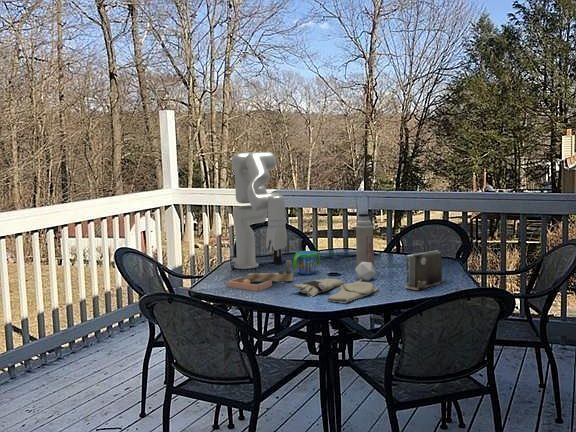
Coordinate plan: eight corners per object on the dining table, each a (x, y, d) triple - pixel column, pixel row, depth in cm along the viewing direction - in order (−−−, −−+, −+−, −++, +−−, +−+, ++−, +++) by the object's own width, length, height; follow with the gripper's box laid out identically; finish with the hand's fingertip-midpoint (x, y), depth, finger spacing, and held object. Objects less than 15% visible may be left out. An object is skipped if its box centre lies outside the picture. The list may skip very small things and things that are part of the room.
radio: (434, 279, 252) (434, 245, 250) (451, 282, 245) (451, 247, 243) (400, 288, 237) (399, 253, 236) (416, 292, 231) (416, 255, 229)
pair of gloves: (288, 294, 236) (288, 282, 235) (329, 282, 254) (328, 271, 253) (345, 306, 215) (345, 292, 214) (385, 292, 233) (384, 280, 232)
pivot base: (272, 282, 256) (272, 281, 256) (279, 279, 261) (279, 279, 261) (283, 283, 253) (283, 283, 253) (290, 281, 258) (290, 280, 258)
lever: (248, 281, 257) (247, 261, 256) (249, 279, 260) (248, 260, 259) (292, 280, 255) (291, 260, 254) (292, 279, 258) (292, 259, 257)
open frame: (227, 287, 251) (226, 281, 251) (241, 282, 260) (241, 276, 260) (257, 291, 242) (257, 285, 241) (272, 285, 250) (271, 280, 250)
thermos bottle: (377, 273, 267) (376, 213, 264) (363, 275, 263) (361, 215, 260) (367, 270, 274) (366, 212, 271) (353, 272, 270) (352, 214, 267)
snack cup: (313, 269, 282) (313, 248, 280) (326, 272, 273) (326, 251, 272) (287, 274, 273) (286, 253, 272) (299, 277, 264) (299, 256, 263)
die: (379, 280, 256) (371, 261, 260) (375, 274, 249) (368, 255, 253) (362, 286, 257) (355, 267, 262) (358, 281, 250) (351, 261, 254)
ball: (240, 286, 248) (241, 278, 249) (245, 287, 251) (246, 279, 252) (246, 287, 246) (247, 279, 247) (251, 288, 249) (252, 280, 250)
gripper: (279, 220, 256) (280, 260, 259) (259, 225, 244) (260, 267, 246) (293, 221, 252) (294, 262, 254) (273, 226, 239) (274, 269, 242)
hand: (277, 264), depth 250 cm, fingers closed
